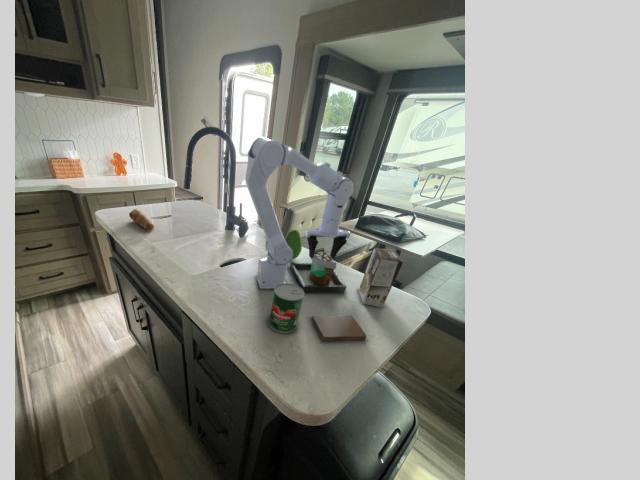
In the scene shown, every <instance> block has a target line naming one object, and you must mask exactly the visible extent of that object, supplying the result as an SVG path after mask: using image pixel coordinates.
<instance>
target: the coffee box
mask: <svg viewBox="0 0 640 480" xmlns="http://www.w3.org/2000/svg"><path fill="white" fill-rule="evenodd" d="M403 263H404V261H403V259H402V258H401V256H399V254H398V253H397V251H396V250H395V249H390V248H381V247H380V248H379V247H374V248H373V250H372V253H371V256H370V259H369V261H368V264H367V266H366V269H365V271H364V275H363V277H362V280H361V283H360V285H359V289H358V293H359V295H360V299H361V301H362V304H363V305H367V306H368V305H369V306H374V307H379V308H383V307H384V305H385V302H386V300H387V298H388V296H389V295H390V291H391V289H392V287H393V286H394V283H395V281H396V279H397V276H398V275H399V273H400V270H401V268H402V266H403V265H404V264H403Z"/></svg>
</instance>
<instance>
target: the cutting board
mask: <svg viewBox="0 0 640 480" xmlns="http://www.w3.org/2000/svg"><path fill="white" fill-rule="evenodd" d="M311 321H312V323H313V325H314V328H315V330H316V331H317V333H318V335H319V338H320V339H321V342H341V341H342V342H345V341H347V342H348V341H365V340H366V338H367V334H366V333H365V332H364V330H363V329H362V327H361V326H360V325H359V323H358V322H357V320H356V319H355V317H354V316H353V315H352V314H336V315H335V314H334V315H332V314H331V315H312V317H311Z"/></svg>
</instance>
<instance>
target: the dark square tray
mask: <svg viewBox="0 0 640 480" xmlns="http://www.w3.org/2000/svg"><path fill="white" fill-rule="evenodd" d="M311 266H312V262H290V263H289V272H290V273H291V274H292V277H293V279H294V280H295V282H296V284H297V286H299V287H300V288H302V290H303V291H304V294H342V293H344V294H345V293H346V290H347V285H346V283H344V281H343V280H342V279H341V277H339V275H338V274H337V273H336V271H335V270H334V271H333V274H332V277H331V281H332V282H333V283H334V284H329V285H316V284H306V283H305V281H304V279H303V277H302V276H301V275H300V273H299V271H311Z"/></svg>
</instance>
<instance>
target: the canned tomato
mask: <svg viewBox="0 0 640 480" xmlns="http://www.w3.org/2000/svg"><path fill="white" fill-rule="evenodd" d="M272 294H273V295H272V302H271V306H270V312H269V318H268V325H269V327H270V328H271V329H272V330H274V331H276V332H278V333H284V334H288V333H292V332H294V331H295V330H296V329H297V326H298V322H299V317H300V314H301V310H302V306H303V301H304V296H305V293H304V291H303V290H302V288H300V287H299V286H298V285H296V284H294V283H289V282H288V283H286V282H285V283H283V284H279V285H277V286H276V287H275V288H274V289H273V293H272Z"/></svg>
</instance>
